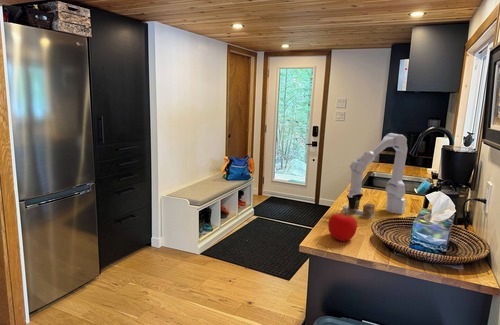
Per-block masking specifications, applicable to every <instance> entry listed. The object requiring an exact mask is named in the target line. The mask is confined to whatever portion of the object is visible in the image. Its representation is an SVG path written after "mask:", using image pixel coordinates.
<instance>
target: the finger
mask: <svg viewBox="0 0 500 325" xmlns="http://www.w3.org/2000/svg"><path fill="white" fill-rule="evenodd" d="M362 211H363V216H365V217H364V218H366V217H369V218H368V219H370V218H371V213H373V215H375V204H373V203H369V202H366V203H365V204H363V208H362ZM371 219H372V218H371Z"/></svg>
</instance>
